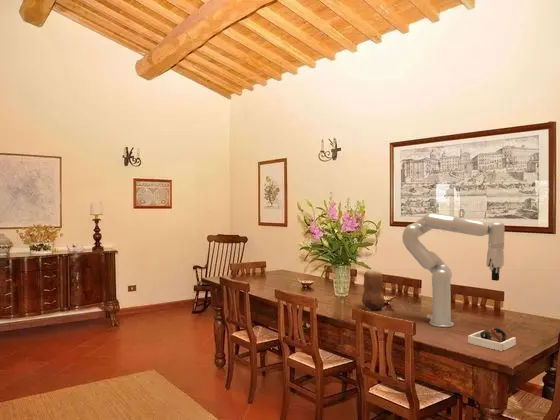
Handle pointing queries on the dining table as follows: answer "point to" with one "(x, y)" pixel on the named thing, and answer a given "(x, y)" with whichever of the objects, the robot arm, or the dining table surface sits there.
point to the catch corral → (490, 342)
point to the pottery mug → (493, 334)
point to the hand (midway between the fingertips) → (495, 280)
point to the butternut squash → (373, 290)
